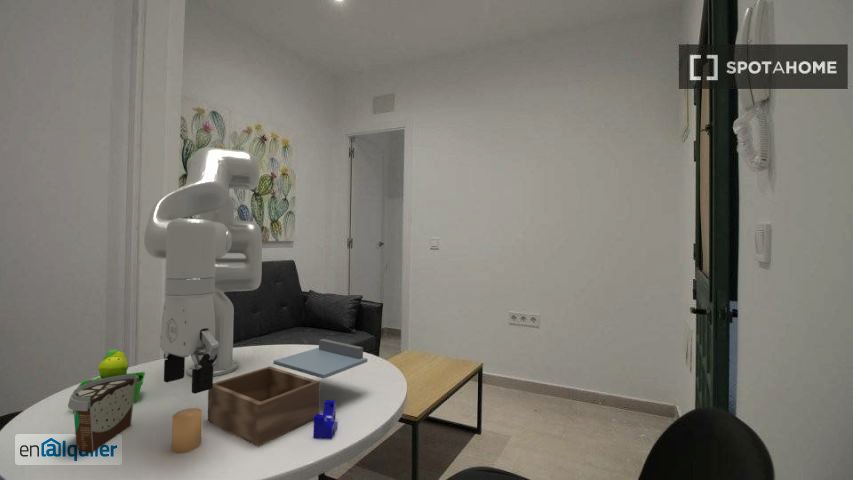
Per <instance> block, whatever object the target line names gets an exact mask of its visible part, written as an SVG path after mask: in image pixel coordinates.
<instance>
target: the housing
mask: <svg viewBox="0 0 853 480" xmlns="http://www.w3.org/2000/svg"><path fill="white" fill-rule="evenodd" d="M207 391H208V392H207V393H208V394H207V395H208V396H207V422H208V421H209V422H208V423H210V424H212V425H214V426H216V427H217V428H220V429H221V430H224V431H226V432H228V433H230V434H232V435H234V436H236V437H238V438H240V439H241V440H244V441H246V442H248V443H249V444H252V445H253V446H255V447H256V448H257V447H258V448H259V447H261V446H264V445H266V444H268V443H270V442H272V441H275V440H276V439H278V438H280V437H282V436H284V435H286V434H289V433H290V432H292V431H293V432H294V431H295V430H296V429H299V428H300V427H302V426H304V425H307V424H308V423H311V422H314V417H315V416H316V414H320V403H321V402H320V400H321V399H320V396H321V394H320V393H321V381H319V380H316V379H312V378H309V377H306V376H302V375H299V374H296V373H293V372H289V371H286V370H283V369H280V368H276V367H273V366H267V367H262V368H260V369H257V370H253V371H250V372H247V373H243V374H240V375H236V376H232V377H230V378H226V379H224V380H220V381H219V380H218V381H216V382H213V387H212V389H209V390H207Z"/></svg>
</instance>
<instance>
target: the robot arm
mask: <svg viewBox="0 0 853 480" xmlns="http://www.w3.org/2000/svg"><path fill="white" fill-rule="evenodd" d="M259 166H260V165H259V162H258V159H257V157H256V156H255V155H254V154H253V153H251V152H249V151H245V150H240V149H232V148H231V149H229V148H223V147H222V148H221V147H211V146H210V147H202V148H199V149H197V150H196V151H195V152H194V153H193V154H192V155H191V156H190V157H189V158H188V159H187V162H186V171H187V176H186V180H185V184H183V186H180V187H178V188H175V189H174V190H173V191H171V192H169V193H167V194H165V195H164V196H162V197H161V198H160V199H159V200H157V201H156V202H155V204H154V205H153V207H152V209H151V211H150V214H149V218H148V220H147V223H146V227H145V231H144V237H143V243H144V244H143V245H144V248H145V250H146V252H147V253H148V255H149V256H151V257H153V258H156V259H162V260H163V259H164V260H165V279H164V303H163V309H162V314H161V316H162V317H161V323H160V325H161V326H160V335H159V348H160V350H161V351H163V355H162V356H163V359H164V361H163V363H164V364H163V382H165V383H170V382H175V381H178V380H182V379H184V378H185V369H186V368H185V367H186V365H185V364H186V363H185V361H186V358H188V357H189V356H190V357H191V360H192V363H193V364H192V365H190V366H189V367H187V370H186V373H187V375H188V376H191V393H192V394H195V395H196V394H200V393H203V392H206V391H208V390H209V389H212V387H213V383H214V377H215V376H217V377H218V376H222V375H225V374H228V373H231V372H234V371H235V370H237V369H238V368H239V361H237V360H235V359H233V354H234V352H233V350H234V322H235V321H234V320H235V319H234V316H235V315H234V314H235V310H234V304H233V303H232V301H231V299H230V298H229V297H228V296H227V295H226V294H225V293H226V292H227V293H228V292H247V291H248V292H249V291H254V290H257V289H258V288H259V287H260V286H261V283H262V275H263V274H262V270H263V269H262V268H263V267H262V265H263V264H262V263H263V233H262V230H261V227H260V225H259V224H258V223H257V222H254V221H250V220H236V219H235V202H234V200H233V198H232V197H231V196H230V195H229V189H232V190H233V189H234V190H248V191H250V190H251V191H252V190H255V189H256V188H257V187H258V186H259V185H258V184H259V182H260V167H259ZM198 215H199V218H192V217H194V216H198ZM226 254H241V255H244V256H245V257H239V258H238V257H237V258H234V257H224V256H226Z"/></svg>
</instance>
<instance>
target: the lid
mask: <svg viewBox="0 0 853 480" xmlns="http://www.w3.org/2000/svg"><path fill="white" fill-rule="evenodd" d="M272 362H273V363H272V364H273V365H275V366H279V367H283V368H285V369H289V370H293V371H295V372H300V373H301V374H307V375H310V376H313V377H317V378H320V379H327V378H330V377H332V376H334V375H338V374H340V373H342V372H345V371H347V370H350V369H353V368H356V367H358V366H360V365H361V366H362V365H363V364H365V363H367V362H368V358H367V357H364V347H362V346H357V345H353V344H348V343H345V342H339V341H335V340H334V341H333V340H331V339H325V338H322V339H319V340H318V347H316V348H312V349H309V350H306V351H302V352H299V353H296V354H292V355H288V356H285V357H281V358H278V359H275V360H273V361H272Z"/></svg>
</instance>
